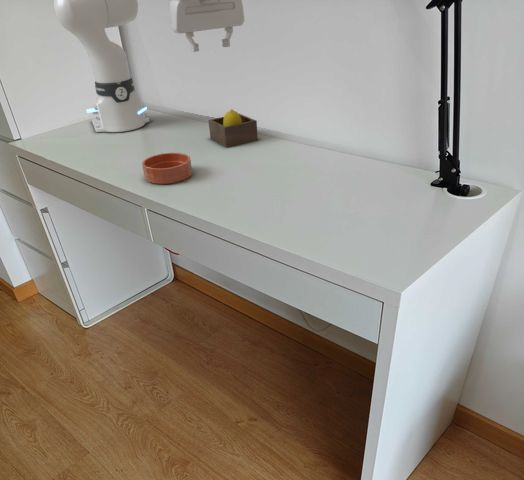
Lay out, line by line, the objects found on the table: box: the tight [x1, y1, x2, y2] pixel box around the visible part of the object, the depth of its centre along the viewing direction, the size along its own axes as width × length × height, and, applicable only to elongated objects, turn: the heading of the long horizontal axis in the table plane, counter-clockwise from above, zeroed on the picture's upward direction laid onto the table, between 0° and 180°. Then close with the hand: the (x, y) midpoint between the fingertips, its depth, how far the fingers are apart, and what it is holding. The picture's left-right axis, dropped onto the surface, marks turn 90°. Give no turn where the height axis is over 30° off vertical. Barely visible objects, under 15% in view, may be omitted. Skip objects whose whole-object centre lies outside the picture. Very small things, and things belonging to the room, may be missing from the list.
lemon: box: [223, 109, 242, 127], centre depth 148 cm, size 6×6×8 cm
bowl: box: [141, 152, 193, 185], centre depth 128 cm, size 12×12×4 cm
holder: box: [208, 113, 259, 148], centre depth 149 cm, size 11×11×6 cm
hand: (211, 49), depth 135 cm, fingers open, 8 cm apart
